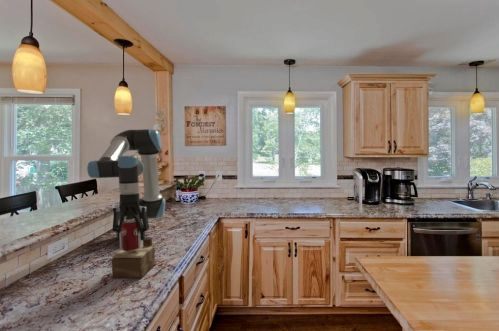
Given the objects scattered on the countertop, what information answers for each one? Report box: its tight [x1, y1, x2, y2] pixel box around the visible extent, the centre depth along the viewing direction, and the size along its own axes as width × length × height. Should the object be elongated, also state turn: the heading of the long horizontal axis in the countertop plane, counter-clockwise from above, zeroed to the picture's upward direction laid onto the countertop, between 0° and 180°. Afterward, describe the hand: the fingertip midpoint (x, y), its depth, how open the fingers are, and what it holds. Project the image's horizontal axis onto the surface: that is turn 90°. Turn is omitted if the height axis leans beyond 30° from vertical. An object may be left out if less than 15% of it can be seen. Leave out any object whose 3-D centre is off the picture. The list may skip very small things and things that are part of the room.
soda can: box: [121, 219, 140, 252], centre depth 121 cm, size 7×7×12 cm
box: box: [111, 247, 156, 280], centre depth 124 cm, size 14×12×8 cm
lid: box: [111, 237, 155, 259], centre depth 124 cm, size 14×12×4 cm
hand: (131, 247), depth 122 cm, fingers closed on soda can, 7 cm apart
